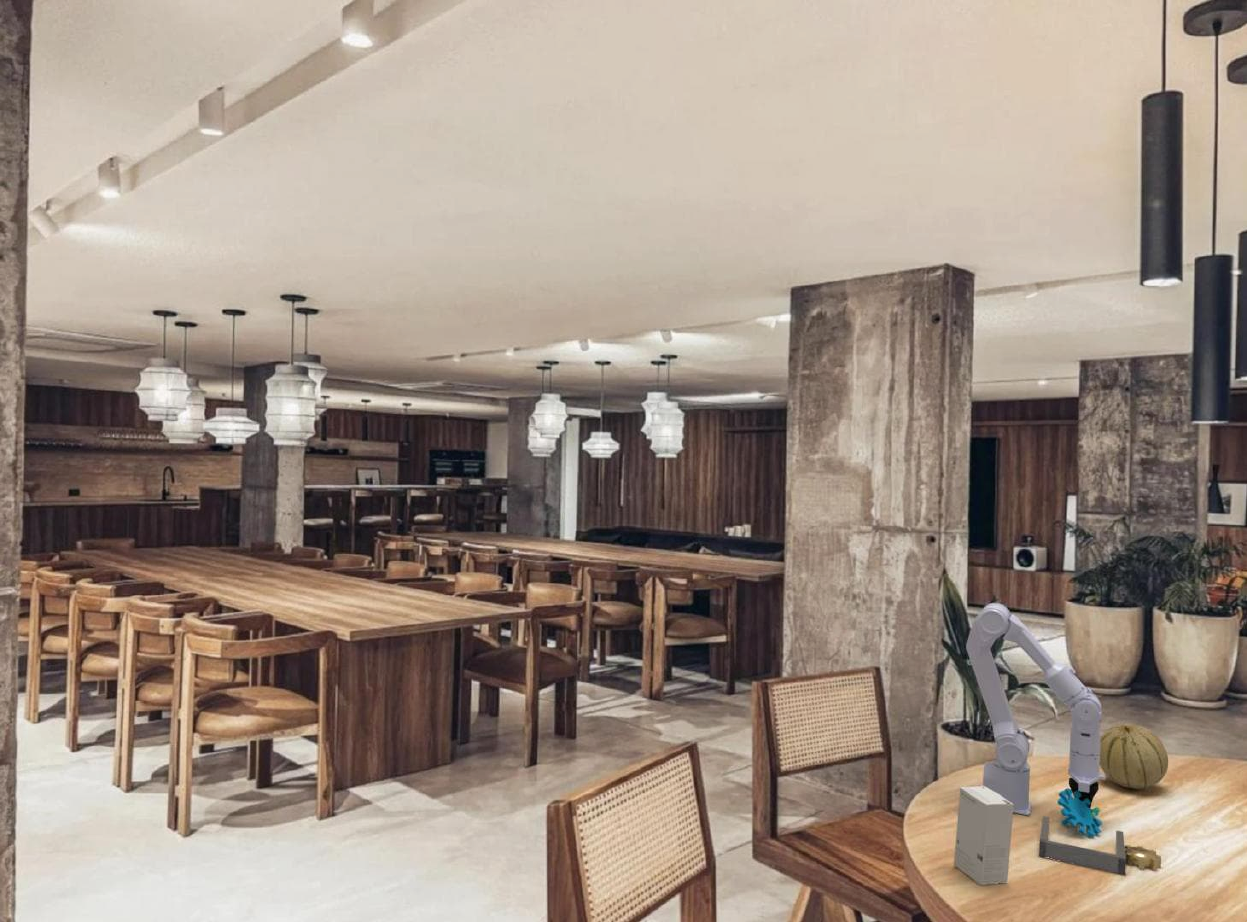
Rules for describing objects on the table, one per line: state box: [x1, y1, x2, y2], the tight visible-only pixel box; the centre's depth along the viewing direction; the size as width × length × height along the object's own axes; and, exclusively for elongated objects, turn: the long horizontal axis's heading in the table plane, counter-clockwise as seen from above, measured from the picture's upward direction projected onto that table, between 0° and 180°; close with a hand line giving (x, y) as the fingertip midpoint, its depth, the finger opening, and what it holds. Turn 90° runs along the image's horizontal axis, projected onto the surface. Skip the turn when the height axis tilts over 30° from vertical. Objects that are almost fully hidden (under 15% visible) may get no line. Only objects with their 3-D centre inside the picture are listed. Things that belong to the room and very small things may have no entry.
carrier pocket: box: [1038, 815, 1162, 876], centre depth 172 cm, size 20×14×3 cm
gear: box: [1056, 787, 1103, 838], centre depth 185 cm, size 11×6×10 cm
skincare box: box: [953, 785, 1014, 886], centre depth 162 cm, size 8×6×15 cm
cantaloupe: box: [1099, 723, 1169, 790], centre depth 211 cm, size 15×15×15 cm
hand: (1082, 815), depth 189 cm, fingers closed
